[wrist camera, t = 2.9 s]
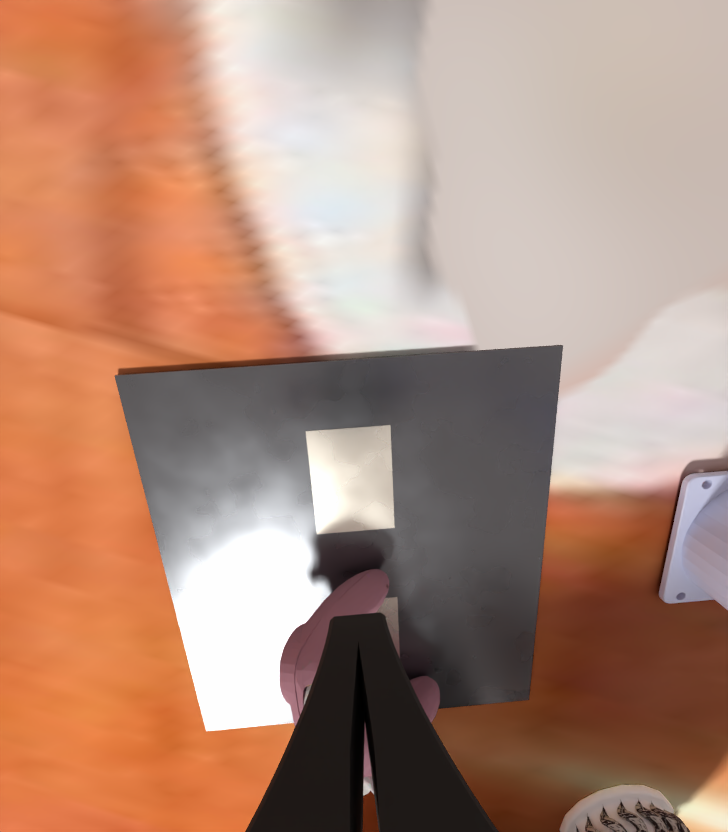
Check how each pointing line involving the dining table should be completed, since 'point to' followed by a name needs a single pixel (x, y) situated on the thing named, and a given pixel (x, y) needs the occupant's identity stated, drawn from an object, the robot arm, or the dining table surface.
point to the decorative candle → (623, 812)
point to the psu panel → (351, 512)
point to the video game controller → (309, 642)
